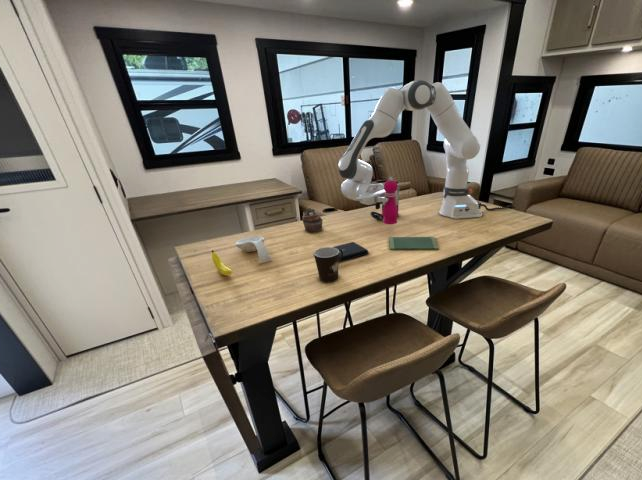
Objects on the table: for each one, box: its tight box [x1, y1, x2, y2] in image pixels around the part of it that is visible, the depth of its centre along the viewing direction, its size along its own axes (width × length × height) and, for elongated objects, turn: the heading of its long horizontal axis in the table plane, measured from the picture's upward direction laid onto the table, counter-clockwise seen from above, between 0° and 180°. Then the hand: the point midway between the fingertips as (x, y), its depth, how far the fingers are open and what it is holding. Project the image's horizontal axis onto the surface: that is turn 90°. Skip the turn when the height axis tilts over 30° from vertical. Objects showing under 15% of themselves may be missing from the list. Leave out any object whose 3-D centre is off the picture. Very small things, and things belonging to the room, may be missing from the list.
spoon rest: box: [235, 236, 272, 264], centre depth 130 cm, size 24×12×7 cm, turn 36°
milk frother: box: [370, 186, 401, 221], centre depth 165 cm, size 14×16×15 cm
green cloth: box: [389, 236, 439, 251], centre depth 137 cm, size 20×13×1 cm, turn 88°
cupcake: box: [301, 208, 324, 234], centre depth 152 cm, size 10×10×10 cm
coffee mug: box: [313, 246, 343, 284], centre depth 110 cm, size 12×9×10 cm
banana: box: [211, 250, 233, 277], centre depth 115 cm, size 3×19×6 cm, turn 40°
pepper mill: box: [381, 176, 399, 225], centre depth 141 cm, size 7×7×20 cm
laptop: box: [332, 241, 370, 262], centre depth 129 cm, size 16×20×2 cm
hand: (392, 198), depth 140 cm, fingers closed on pepper mill, 5 cm apart
